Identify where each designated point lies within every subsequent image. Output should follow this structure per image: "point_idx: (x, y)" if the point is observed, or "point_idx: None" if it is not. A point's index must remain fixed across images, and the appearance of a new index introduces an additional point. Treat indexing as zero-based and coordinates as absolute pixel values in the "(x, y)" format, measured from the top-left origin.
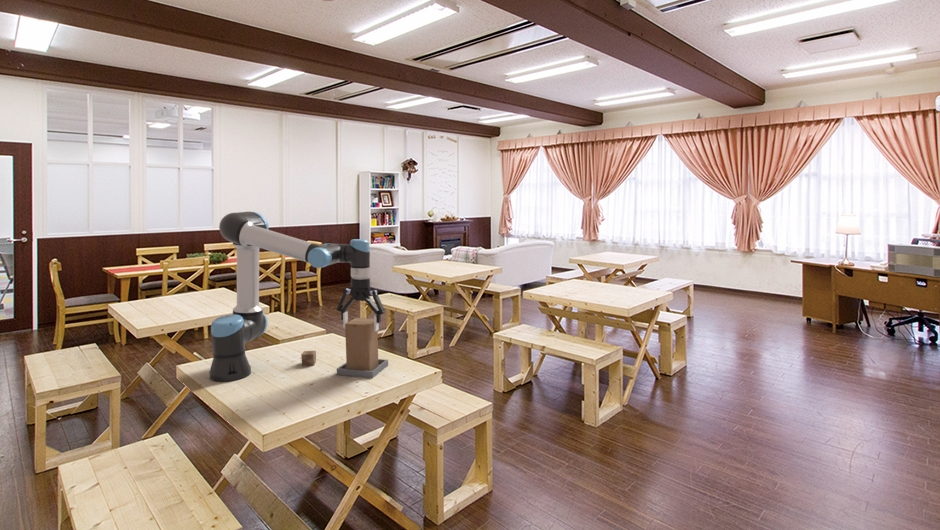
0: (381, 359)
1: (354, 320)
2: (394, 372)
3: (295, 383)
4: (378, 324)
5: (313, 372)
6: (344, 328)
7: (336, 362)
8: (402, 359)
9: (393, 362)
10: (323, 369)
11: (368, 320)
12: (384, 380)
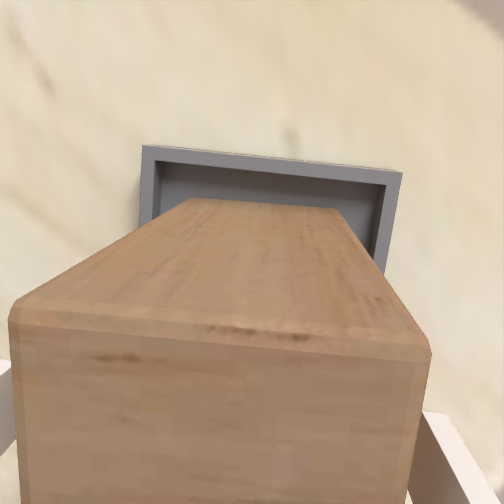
0: (352, 174)
1: (74, 472)
2: (459, 289)
3: (11, 475)
4: (475, 472)
5: (7, 334)
6: (11, 436)
7: (42, 154)
8: (469, 20)
9: (415, 100)
10: (32, 285)
11: (303, 461)
12: (427, 411)
